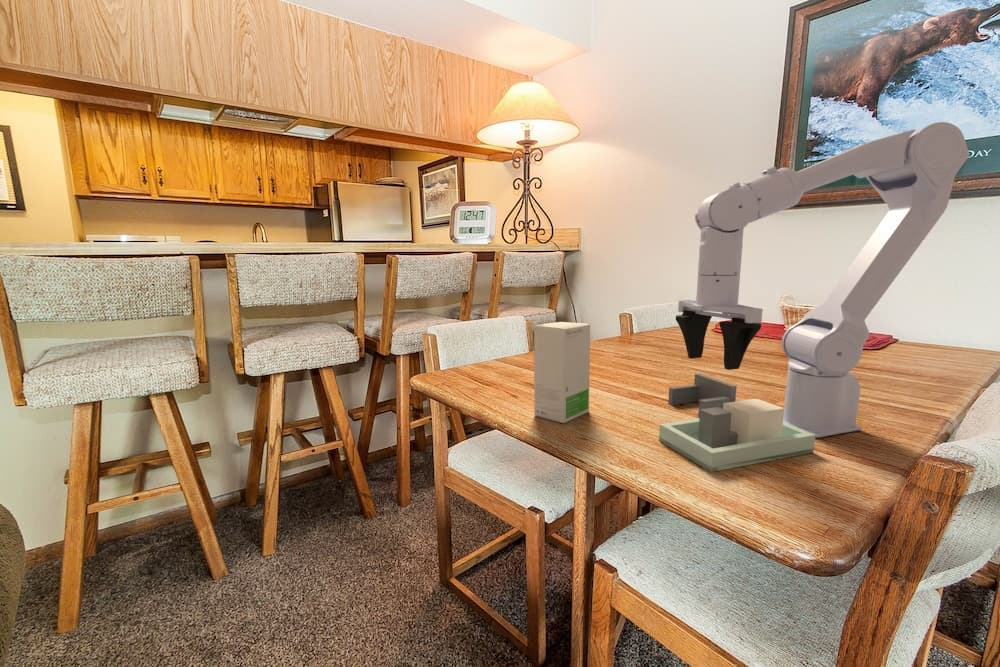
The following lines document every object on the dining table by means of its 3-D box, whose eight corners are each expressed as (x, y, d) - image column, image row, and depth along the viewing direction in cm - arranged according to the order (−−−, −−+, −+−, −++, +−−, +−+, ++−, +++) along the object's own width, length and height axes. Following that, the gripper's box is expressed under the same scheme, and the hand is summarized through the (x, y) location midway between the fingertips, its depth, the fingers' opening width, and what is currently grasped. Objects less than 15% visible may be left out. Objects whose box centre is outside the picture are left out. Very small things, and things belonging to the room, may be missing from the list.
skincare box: (563, 425, 69) (564, 329, 67) (531, 415, 74) (530, 325, 71) (590, 411, 76) (592, 322, 73) (559, 403, 80) (560, 319, 77)
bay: (697, 399, 81) (699, 373, 80) (734, 414, 73) (736, 385, 72) (668, 403, 79) (669, 376, 78) (702, 419, 71) (704, 389, 70)
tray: (751, 425, 68) (752, 410, 67) (813, 452, 58) (815, 434, 58) (659, 440, 63) (659, 424, 63) (710, 472, 54) (712, 453, 53)
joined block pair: (753, 430, 64) (756, 398, 64) (780, 442, 60) (784, 408, 59) (692, 440, 61) (694, 407, 60) (716, 454, 57) (719, 418, 56)
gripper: (664, 274, 71) (660, 355, 73) (736, 277, 57) (728, 377, 59) (699, 273, 73) (695, 352, 75) (777, 276, 59) (768, 372, 62)
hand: (712, 363), depth 67 cm, fingers open, 7 cm apart
